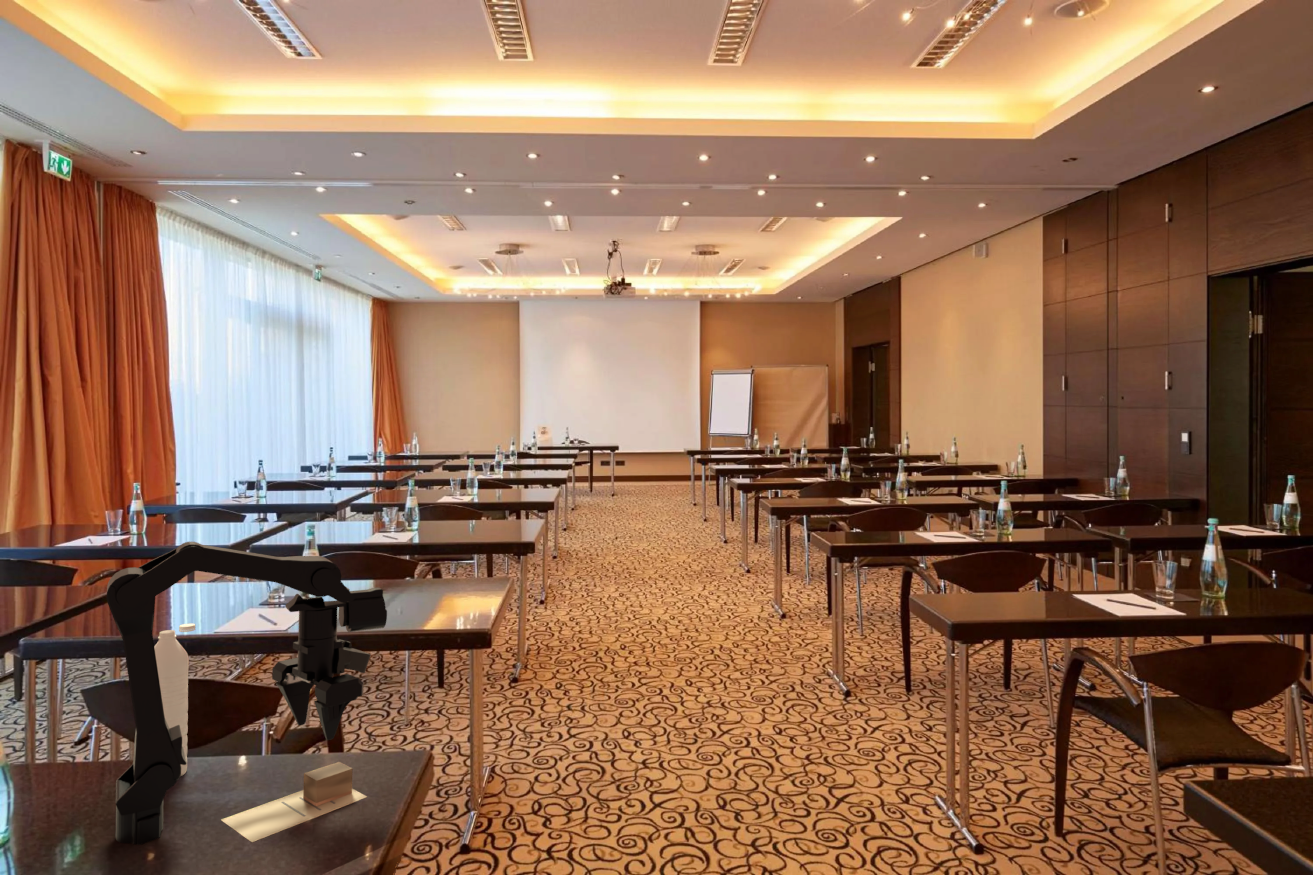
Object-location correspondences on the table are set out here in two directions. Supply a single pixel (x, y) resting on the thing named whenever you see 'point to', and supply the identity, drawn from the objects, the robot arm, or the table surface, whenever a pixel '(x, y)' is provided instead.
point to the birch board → (283, 814)
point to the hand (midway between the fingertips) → (315, 731)
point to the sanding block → (327, 783)
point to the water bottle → (174, 681)
